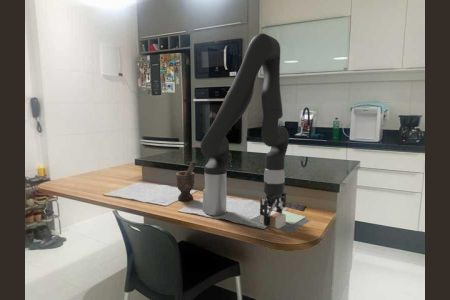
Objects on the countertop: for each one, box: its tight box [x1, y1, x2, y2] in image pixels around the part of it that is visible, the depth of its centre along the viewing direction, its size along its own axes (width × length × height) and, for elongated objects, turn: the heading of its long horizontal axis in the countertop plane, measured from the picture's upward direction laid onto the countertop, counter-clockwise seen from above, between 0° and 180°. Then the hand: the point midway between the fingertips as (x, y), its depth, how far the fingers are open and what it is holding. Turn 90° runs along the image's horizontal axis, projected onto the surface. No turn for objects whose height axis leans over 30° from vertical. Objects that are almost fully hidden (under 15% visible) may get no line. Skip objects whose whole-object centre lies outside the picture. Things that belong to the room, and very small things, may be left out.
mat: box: [249, 209, 311, 234], centre depth 118 cm, size 18×18×1 cm
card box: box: [259, 210, 286, 230], centre depth 114 cm, size 8×5×4 cm, turn 48°
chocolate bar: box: [285, 201, 306, 212], centre depth 130 cm, size 9×1×18 cm
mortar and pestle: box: [175, 160, 197, 202], centre depth 143 cm, size 12×9×20 cm
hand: (272, 222), depth 114 cm, fingers open, 7 cm apart
